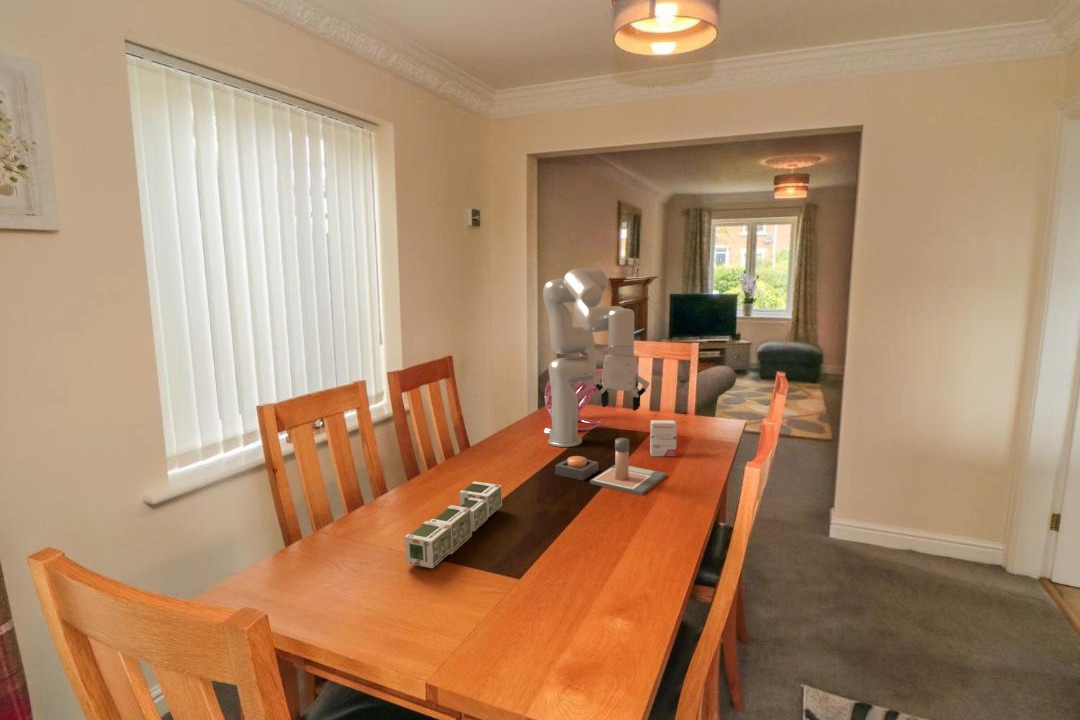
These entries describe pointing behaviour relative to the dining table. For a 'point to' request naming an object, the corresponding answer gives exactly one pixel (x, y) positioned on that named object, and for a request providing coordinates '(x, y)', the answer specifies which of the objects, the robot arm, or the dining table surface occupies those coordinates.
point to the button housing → (576, 470)
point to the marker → (621, 459)
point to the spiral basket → (580, 392)
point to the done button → (577, 461)
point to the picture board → (629, 480)
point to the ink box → (663, 438)
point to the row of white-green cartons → (452, 525)
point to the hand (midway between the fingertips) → (620, 407)
